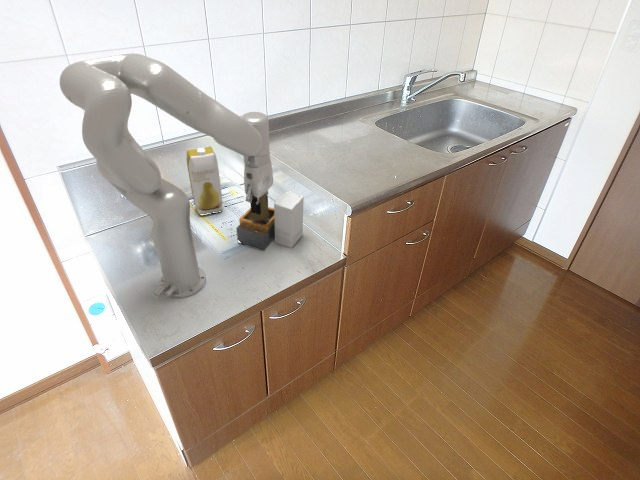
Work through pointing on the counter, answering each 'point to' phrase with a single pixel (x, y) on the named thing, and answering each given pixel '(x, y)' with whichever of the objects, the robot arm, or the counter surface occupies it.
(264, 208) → the olive rounded tall piece
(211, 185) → the juice carton
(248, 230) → the grey open box
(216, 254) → the counter surface
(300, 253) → the counter surface
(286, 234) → the skincare box
